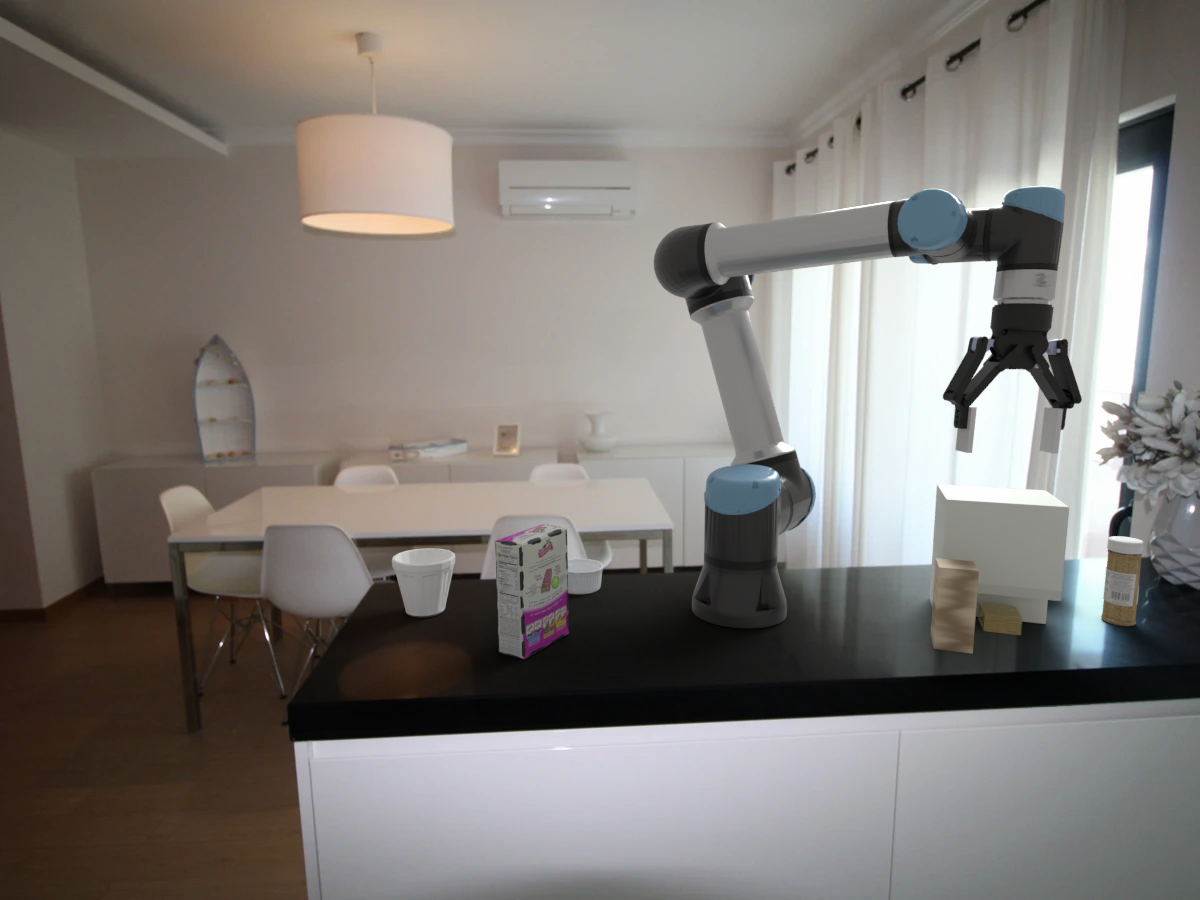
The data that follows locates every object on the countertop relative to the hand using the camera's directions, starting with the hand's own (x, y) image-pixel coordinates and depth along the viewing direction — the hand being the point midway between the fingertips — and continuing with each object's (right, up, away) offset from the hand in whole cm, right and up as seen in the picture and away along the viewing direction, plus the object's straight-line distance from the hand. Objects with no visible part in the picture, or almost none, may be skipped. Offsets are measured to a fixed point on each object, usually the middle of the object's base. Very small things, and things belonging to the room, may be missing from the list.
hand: (1006, 452), depth 105 cm
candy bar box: (-69, -28, -1) cm, 74 cm away
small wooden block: (+2, -27, +6) cm, 28 cm away
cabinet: (+3, -27, +10) cm, 29 cm away
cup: (-88, -26, +12) cm, 92 cm away
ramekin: (-63, -25, +25) cm, 72 cm away
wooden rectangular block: (-7, -27, +4) cm, 28 cm away
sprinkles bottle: (+22, -27, +9) cm, 36 cm away
